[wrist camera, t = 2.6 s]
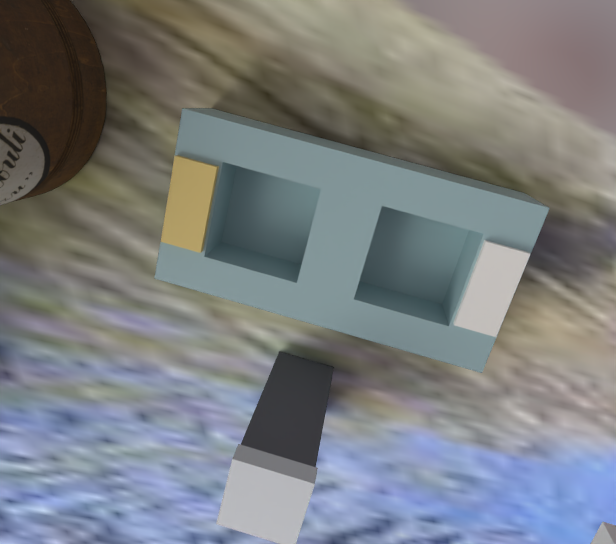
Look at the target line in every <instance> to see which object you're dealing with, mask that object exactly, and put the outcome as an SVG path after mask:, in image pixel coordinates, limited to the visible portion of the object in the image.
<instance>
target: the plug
mask: <svg viewBox="0 0 616 544" xmlns="http://www.w3.org/2000/svg"><path fill="white" fill-rule="evenodd" d="M333 368H334V367H331V366H328V365H324V364H321V363H317V362H314V361H310V360H307V359H304V358H300V357H297V356H293V355H290V354H286V353H283V352H280V351H279V354H278V356H277V359H276V361H275V363H274V366H273V368H272V371H271V373H270V375H269V378H268V380H267V383H266V385H265V387H264V390H263V392H262V395H261V397H260V399H259V402H258V404H257V407H256V409H255V412H254V414H253V416H252V419H251V421H250V424H249V426H248V428H247V431H246V433H245V436H244V438H243V440H242V443H241V445H240V444H238V447H237V449H236V451H235V454H234V456H233V459H232V462H231V466H230V470H229V475H228V479H227V483H226V487H225V491H224V495H223V499H222V503H221V507H220V511H219V515H218V519H217V523H216V524H218V525H221V526H224V527H227V528H231V529H234V530H237V531H240V532H244V533H247V534H250V535H253V536H256V537H260V538H263V539H266V540H269V541H273V542H276V543H279V544H296V542H297V539H298V535H299V532H300V529H301V526H302V523H303V520H304V516H305V513H306V510H307V507H308V504H309V501H310V497H311V494H312V491H313V488H314V485H315V480H316V474H317V468H316V462H317V456H318V451H319V445H320V440H321V434H322V429H323V423H324V418H325V412H326V407H327V401H328V396H329V390H330V385H331V379H332V374H333Z"/></svg>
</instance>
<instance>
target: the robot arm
mask: <svg viewBox="0 0 616 544" xmlns="http://www.w3.org/2000/svg"><path fill="white" fill-rule="evenodd" d="M591 544H616V525H612V524H609V523H605V522H602V524H601V526H600V527H599V529H598V531H597V533H596V535H595V537H594V538H593V540H592V542H591Z"/></svg>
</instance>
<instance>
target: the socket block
mask: <svg viewBox="0 0 616 544" xmlns="http://www.w3.org/2000/svg"><path fill="white" fill-rule="evenodd" d="M548 211H549V207H547V206H545V205H544V204H542V203H540V202H539V201H537V200H535V199H534V198H532V197H530V196H529V195H527V194H525V193H522V192H519V191H515V190H511V189H508V188H504V187H500V186H497V185H493V184H489V183H486V182H482V181H478V180H474V179H471V178H467V177H463V176H460V175H456V174H452V173H449V172H445V171H441V170H437V169H434V168H430V167H426V166H423V165H419V164H415V163H412V162H408V161H404V160H401V159H397V158H393V157H389V156H386V155H382V154H378V153H375V152H371V151H367V150H364V149H360V148H356V147H353V146H349V145H345V144H341V143H338V142H334V141H330V140H327V139H323V138H319V137H316V136H312V135H308V134H305V133H301V132H297V131H293V130H290V129H286V128H282V127H279V126H275V125H271V124H268V123H264V122H260V121H257V120H253V119H249V118H245V117H242V116H238V115H234V114H231V113H227V112H223V111H220V110H216V109H212V108H182V114H181V120H180V126H179V132H178V138H177V144H176V151H175V157H174V163H173V169H172V175H171V181H170V187H169V193H168V199H167V205H166V212H165V218H164V224H163V230H162V236H161V242H160V248H159V254H158V260H157V266H156V273H155V279H158V280H162V281H165V282H169V283H172V284H175V285H179V286H182V287H186V288H189V289H193V290H196V291H200V292H203V293H207V294H210V295H214V296H217V297H220V298H224V299H227V300H231V301H234V302H238V303H241V304H245V305H248V306H252V307H255V308H259V309H262V310H265V311H269V312H272V313H276V314H279V315H283V316H286V317H290V318H293V319H297V320H300V321H304V322H307V323H310V324H314V325H317V326H321V327H324V328H328V329H331V330H335V331H338V332H342V333H345V334H349V335H352V336H355V337H359V338H362V339H366V340H369V341H373V342H376V343H380V344H383V345H387V346H390V347H394V348H397V349H401V350H404V351H407V352H411V353H414V354H418V355H421V356H425V357H428V358H432V359H435V360H439V361H442V362H446V363H449V364H452V365H456V366H459V367H463V368H466V369H470V370H473V371H477V372H480V373H482V371H483V369H484V367H485V364H486V362H487V359H488V357H489V354H490V352H491V349H492V347H493V345H494V342H495V340H496V337H497V335H498V332H499V330H500V328H501V325H502V323H503V320H504V318H505V315H506V313H507V311H508V308H509V306H510V303H511V301H512V298H513V296H514V294H515V291H516V289H517V286H518V284H519V281H520V279H521V276H522V274H523V272H524V269H525V267H526V264H527V262H528V259H529V257H530V255H531V252H532V250H533V247H534V245H535V242H536V240H537V238H538V235H539V233H540V230H541V228H542V225H543V223H544V221H545V218H546V216H547V213H548Z"/></svg>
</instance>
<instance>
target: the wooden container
mask: <svg viewBox="0 0 616 544" xmlns="http://www.w3.org/2000/svg"><path fill="white" fill-rule="evenodd" d="M105 111H106V85H105V77H104V70H103V65H102V63H101V58H100V54H99V51H98V48H97V46H96V43H95V40H94V38H93V36H92V34H91V32H90V30H89V28H88V26H87V25H86V23H85V21H84V19H83V18H82V16H81V15H80V13H79V12H78V10H77V9H76V8H75V6H74V5H73V4H72V3H71V1H70V0H0V205H3V204H6V203H9V202H13V201H17V200H21V199H24V198H28V197H32V196H36V195H39V194H43V193H46V192H48V191H51V190H53V189H55V188H57V187H59V186H61V185H62V184H64V183H65V182H67V181H68V180H70V179H71V178H72V177H73V176H74V175H76V174H77V173H78V172H79V171H80V170H81V168H82V167H83V166H84V165H85V163H86V162H87V161H88V159H89V158H90V156H91V155H92V153H93V151H94V149H95V147H96V145H97V143H98V140H99V137H100V134H101V131H102V128H103V124H104V119H105Z"/></svg>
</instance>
